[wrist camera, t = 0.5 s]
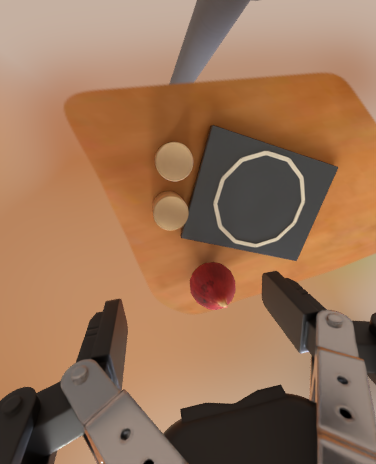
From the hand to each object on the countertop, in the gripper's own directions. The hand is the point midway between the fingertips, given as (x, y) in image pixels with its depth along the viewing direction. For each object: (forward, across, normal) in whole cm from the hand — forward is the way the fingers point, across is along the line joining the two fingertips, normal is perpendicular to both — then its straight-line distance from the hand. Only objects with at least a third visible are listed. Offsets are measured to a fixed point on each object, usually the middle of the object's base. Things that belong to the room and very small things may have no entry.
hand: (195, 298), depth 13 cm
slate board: (+18, -12, 0) cm, 22 cm away
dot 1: (+18, -1, -6) cm, 19 cm away
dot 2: (+18, 0, -1) cm, 18 cm away
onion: (+18, -4, +9) cm, 21 cm away
